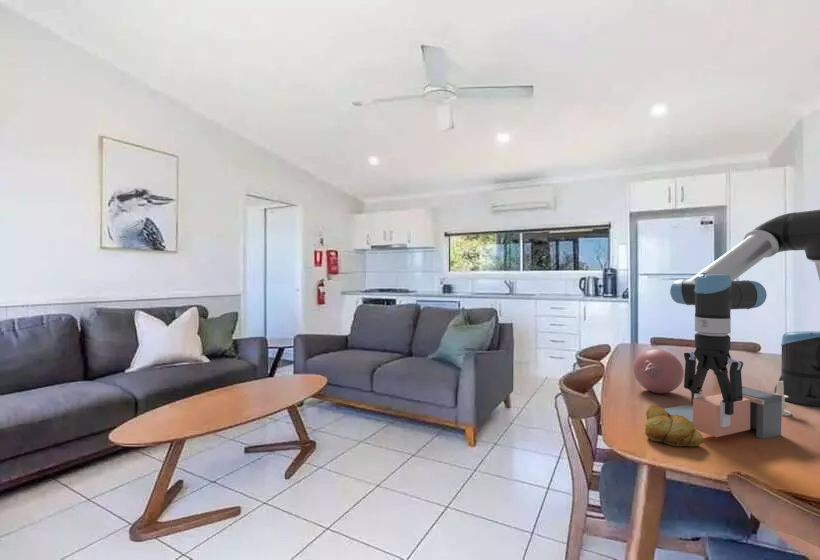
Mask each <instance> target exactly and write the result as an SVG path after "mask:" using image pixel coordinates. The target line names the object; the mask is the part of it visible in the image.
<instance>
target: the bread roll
mask: <svg viewBox="0 0 820 560" xmlns="http://www.w3.org/2000/svg"><path fill="white" fill-rule="evenodd" d="M664 409H665V408H663V407H661V406H659V405H657V404H652V405H650V406H648V408H647V410H646V421H645V429H644V430H645V431H644V434H645V436H646V437H647V438H648V439H649V440H651V441H652V442H653V441H654V442H659V443H662V442H664V444H667V445H670V446H674V447H683V446H684V447H697V446H700V445H702V444H703V441H704V437H703V434H701V431H698V430H695V429H694V425H693V423H692V422H691V421H690V420H688V419H687V418H685V417H683V416H680V415H670V414H669V413H668V412H667V411H665V410H664Z"/></svg>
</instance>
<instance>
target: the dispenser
mask: <svg viewBox="0 0 820 560" xmlns="http://www.w3.org/2000/svg"><path fill="white" fill-rule="evenodd" d="M719 391H720V393H719V394H722V393H721V390H720V389H719ZM742 394H743V398H747V399H750V429H751V428H752V429H755V430H756V431H755V432H756V433H755V437H756V438H758V439H761V440H764V439H771V438H773V437H778V436H781V435H782V417H783V415H782V396H780V395H776V394H774V393H771V392H767V391H762V390H758V389H755V388H750V387H746V386H743V385H742Z"/></svg>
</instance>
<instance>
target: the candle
mask: <svg viewBox="0 0 820 560" xmlns="http://www.w3.org/2000/svg"><path fill="white" fill-rule="evenodd" d="M776 384H777V391H776V395H780V396H782V416H786V417H789V416H792V412H791V411H789V410H786V408H788V406H787V404H785V403H786V401H785V398H788V396H787V395H784V385H783V381H778V380H777V381H776Z"/></svg>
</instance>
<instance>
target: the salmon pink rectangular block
mask: <svg viewBox="0 0 820 560" xmlns="http://www.w3.org/2000/svg"><path fill="white" fill-rule="evenodd" d="M722 400H723V397H722V394H720V393H718V394H712V395H708V396H704V397H701V398H695V399H693V404H692V406H693V425H694V429H695V430H697V431H698V432H700V433H703V434H707V435H709V436H712V437H714V438H718V437H723V436H727V435H732V434H737V433H741V432H746V431H749V430H751V427H750V399H747V398H743V400H742V401H737V402H734V410H733V411H734V413H733V414H732V415H730V426H728V427H720V401H722Z"/></svg>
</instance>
